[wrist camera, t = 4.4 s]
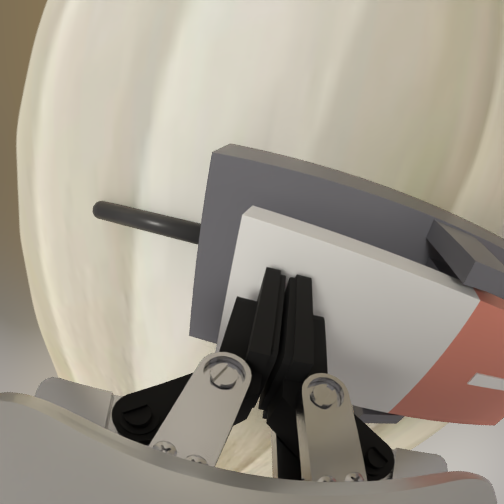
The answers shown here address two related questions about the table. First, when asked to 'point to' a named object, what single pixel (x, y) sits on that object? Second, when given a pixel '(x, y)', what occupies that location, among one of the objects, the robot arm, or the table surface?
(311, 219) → the switch housing
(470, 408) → the rocker
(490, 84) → the table surface
